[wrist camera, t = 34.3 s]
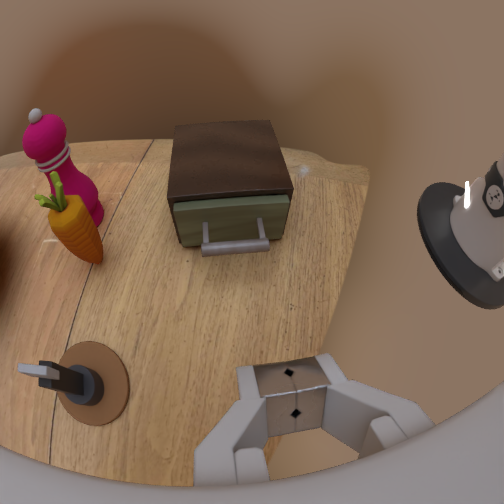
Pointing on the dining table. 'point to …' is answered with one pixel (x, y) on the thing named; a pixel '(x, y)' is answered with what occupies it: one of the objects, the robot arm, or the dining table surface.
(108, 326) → the dining table surface
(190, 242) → the drawer
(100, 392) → the dark grey tall piece
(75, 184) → the pepper mill
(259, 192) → the cabinet
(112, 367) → the coaster
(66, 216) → the carrot
